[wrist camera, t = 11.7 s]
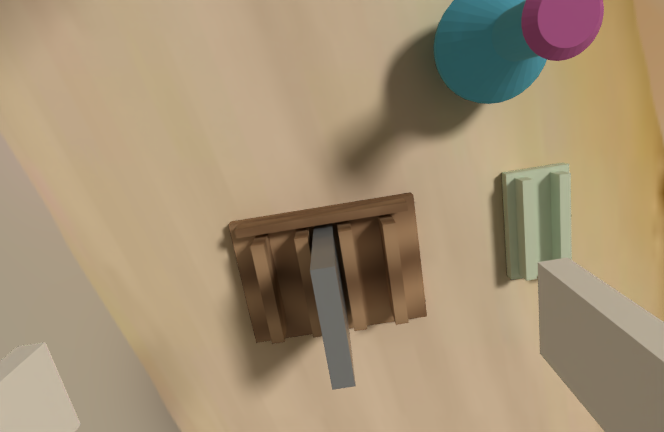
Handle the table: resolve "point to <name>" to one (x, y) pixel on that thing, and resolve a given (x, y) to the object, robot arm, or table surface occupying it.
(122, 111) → the table surface
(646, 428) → the robot arm
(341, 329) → the thick grey slab
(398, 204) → the rack
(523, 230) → the stand
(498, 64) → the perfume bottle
